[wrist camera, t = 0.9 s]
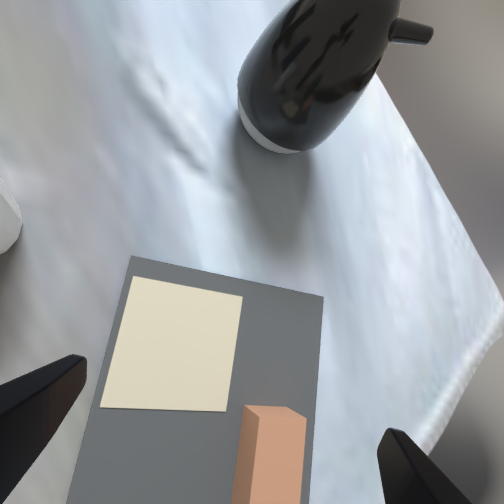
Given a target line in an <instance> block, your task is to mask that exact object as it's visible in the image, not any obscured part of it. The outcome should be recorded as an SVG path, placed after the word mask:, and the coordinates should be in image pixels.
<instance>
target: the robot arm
mask: <svg viewBox="0 0 504 504" xmlns="http://www.w3.org/2000/svg"><path fill="white" fill-rule="evenodd" d="M86 379H87V359H86V357H84V356H79V355H75V354H72V355H69V356H66V357H64V358H62V359H59V360H57V361H55V362H52V363H50V364H48V365H46V366H43V367H41V368H39V369H36V370H34V371H32V372H30V373H27V374H25V375H23V376H20V377H18V378H16V379H14V380H11V381H9V382H7V383H4V384H2V385H0V504H2V503H3V502H4V501H5V500H6V498H7V497H8V496H9V494H10V493H11V492H12V490H13V489H14V488H15V486H16V485H17V484H18V482H19V481H20V480H21V478H22V477H23V476H24V474H25V473H26V472H27V470H28V469H29V468H30V467H31V465H32V464H33V463H34V461H35V460H36V459H37V457H38V456H39V455H40V453H41V452H42V451H43V449H44V448H45V447H46V445H47V444H48V443H49V441H50V440H51V438H52V437H53V435H54V434H55V432H56V431H57V429H58V427H59V426H60V424H61V423H62V421H63V419H64V418H65V416H66V415H67V413H68V411H69V410H70V408H71V407H72V405H73V403H74V402H75V400H76V399H77V397H78V395H79V394H80V392H81V391H82V389H83V387H84V385H85V383H86ZM377 458H378V463H379V469H380V475H381V481H382V487H383V493H384V498H385V504H472V503H471V502H470V501H469V500H468V499H467V498H466V497H465V495H463V493H462V492H461V491H460V490H459V489H458V488H457V487H456V486H455V485H454V484H453V483H452V482H451V481H450V480H449V478H448V477H446V475H445V474H444V473H443V472H442V471H441V470H440V469H439V468H438V467H437V466H436V465H435V464H434V463H433V462H432V461H431V459H430V458H429V457H428V456H427V455H426V454H425V453H424V452H423V451H422V450H421V449H420V448H419V447H418V446H417V445H416V444H415V443H414V442H413V441H412V439H411V438H410V437H409V436H408V435H407V434H406V433H405V432H404V431H402V430H398V429H394V428H388V429H387V430H386V431H385V433H384V435H383V437H382V440H381V442H380V444H379V446H378V449H377Z"/></svg>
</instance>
